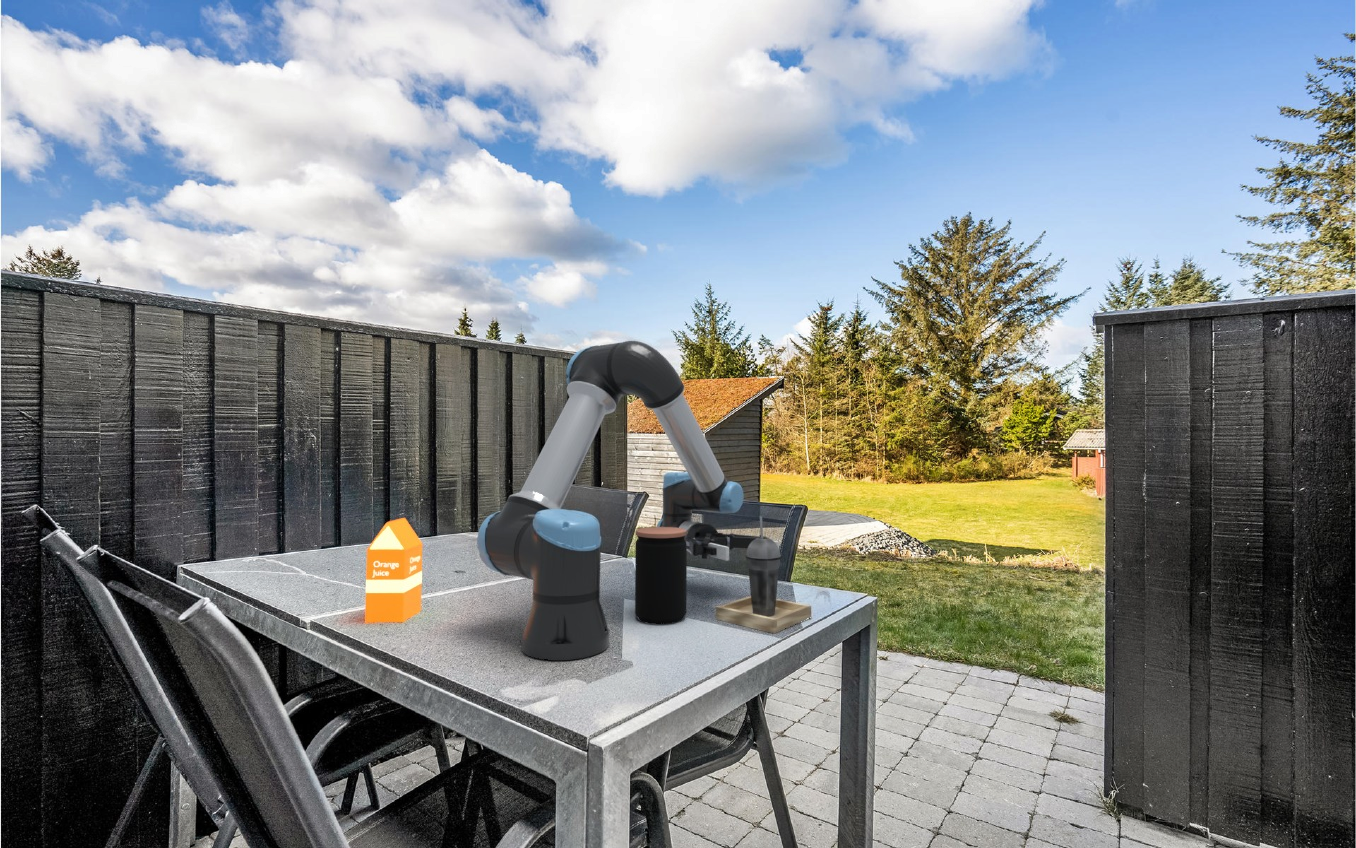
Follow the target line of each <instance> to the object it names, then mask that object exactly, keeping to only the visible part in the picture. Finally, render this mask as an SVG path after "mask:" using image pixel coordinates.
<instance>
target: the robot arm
mask: <svg viewBox="0 0 1356 848" xmlns="http://www.w3.org/2000/svg"><path fill="white" fill-rule="evenodd" d="M565 371H566V372H565V374H566V375H567V378H566V385H567V386H566V392H567V395H568V397H569V398H568V399H567V401H566V403H565V405H564V407H563V408H562V411H561V412H560V415H559V417H558V419H557V421H556V422H555V424H554V427H553V428H552V430H551V432H550V434H549V435H548V438H547V440H546V442H545V444H544V446H543V447H542V449H541V452H540V453H539V456H538V457H537V459H536V460H535V463H534V465H533V467H532V469H531V470H530V472H529V474H528V476H527V478H526V480H525V482H524V484H523V486H522V488H521V490H520V491H519V492H516V493H513V494H510V495H509V496H508V498H507V499H506V502H505V504H504V506H503V508H502V510H500V511H496V512H494V513H493V514H490V515H488V516H487V517H486V518H485V519H484V520H483V522H482V523H481V525H480V527H479V529H478V532H477V538H476V546H477V550H478V554H479V557H480V559H481V561H482V563H483V564H484V565H485V566H486V567H487V568H488V569H490V570H492V571H494V572H498V573H500V574H502V575H503V576H510V577H511V576H514V577H518V578H523V579H528V580H532V605H531V607H530V611H529V614H528V616H527V620H526V624H525V627H524V631H523V632H522V636H521V651H522V653H523V654H524V655H526V654H527V655H526V656H528V655H529V656H528V657H530V656H531V658H534V657H535V659H538V658H539V660H544V659H548V660H547V661H569V660H577V659H583V658H585V659H586V658H588V657H592V656H596V655H598V654H600V653H602V652H604V651H605V650H607V649H608V648H609V646H610V630H609V627H608V623H607V621H606V617H605V613H604V610H603V607H602V604H601V597H600V596H601V593H600V592H601V581H600V580H601V558H602V557H601V555H602V554H601V550H602V548H601V547H602V536H601V529H600V528H601V527H600V526H601V525H600V522H599V520H598V519H597V517H595V515H593V514H591V513H588V512H585V511H579V510H573V509H571V510H569V509H566V508H565V509H564V508H562V506H563V505H564V503H565V500H566V498H567V496H568V493H569V491H570V489H571V487H572V486H573V483H574V480H575V479H576V476H577V474H578V472H579V470H580V468H581V467H582V464H583V462H584V460H585V457H586V456H587V453H588V451H589V449H590V447H591V445H592V443H593V441H594V439H595V438H596V435H597V433H598V431H599V428H600V427H601V424H602V422H603V420H604V418H605V415H609V414H612V413H613V412H615V410H616V409H617V407H618V404H619V402H620V400H621V398H622V397H623V396H625V397H626V396H633V395H634V396H636V397H638V398H639V399H640V400H641V401H642V403H643V405H644V406H645V408H646V409H649V410H652V411H653V413H654V415H655V417H656V418H657V420H658V423H659V424H660V426H661V427H662V429H663V431H664V434H665V435H666V437H667V438H668V440H669V442H670V444H671V445H672V447H673V449H674V451H675V452H676V454H677V456H678V458H679V460H680V461H681V464H682V466H683V467H684V469H685V470H686V472H682V471H681V472H678V471H676V472H674V471H673V472H665V474H664V475H663V480H662V481H663V483H662V484H663V485H662V486H663V487H662V518H661V519H660V520H659V521H658V523H657V525H656V527H675V528H682V529H685V530H686V531H687V532H686V535H685V537H684V539H685V541H686V544H687V553H689V554H690V555H692V556H694V557H697V556H701V559H703V560H707V559H708V557H711V558H715V559H719V560H723V561H726V562H728V561H730V550H731V551H732V550H733V549H735V548H736V549H748V546H749V544H750V543H751V542H752V541H753V540H755V539H756V538H759V537H761V534H759V535H749V534H748V535H747V534H746V535H745V534H737V533H734V532H733V533H723V532H719V531H718V530H717V529H716V528H715V526H713V525H712V524H708V523H703V522H699V521H695V520H694V521H693V520H692V519H693V511H697V512H698V511H699V512H707V513H719V514H734V513H737V512H738V511H740V509H741V506H742V505H743V504H744V503H743V502H744V499H745V498H744V495H745V494H744V490H743V488H742V486H741V485H740V483H738V482H735V481H731V480H729V481H728V480H727V477H726V476H725V474H724V472H723V470H722V469H721V466H720V465H719V462H718V460H717V458H716V456H715V454H714V452H713V450H712V449H711V446H710V445H709V442H708V441H707V438H706V436H705V435H704V433H703V431H702V428H701V427H700V424H699V422H698V421H697V419H696V417H695V415H694V413H693V411H692V408H691V406H690V405H689V403H688V401H687V399H686V397H685V395H684V392H685V385H684V383H683V380H682V378H681V377H680V375H679V374H678V372H677V370H676V368H675V367H674V366H673V365H672V364H671V363H670V361H669V360H668V359H667V358H666V357H665V356H664V355H663V354H662V353H660V352H659V351H658V350H657V349H655V348H654V347H653V346H652V345H651V346H650V345H649V344H647V343H645V342H642V341H640V340H639V341H638V340H625V341H621V342H615V343H614V342H613V343H609V344H601V345H599V344H598V345H592V346H589V347H585V348H583V349H580V350H578V351H577V352H575V353H574V354H573V355H572V356H571V358H570V359H569V360H568V363H567V366H566V370H565ZM763 537H766V538H768V537H767V536H764V535H763ZM773 541H774V542H775V543H776V544H777V546H778V548H779V549H780V541H776V540H773ZM728 543H729V544H728ZM728 545H729V546H728Z"/></svg>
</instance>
